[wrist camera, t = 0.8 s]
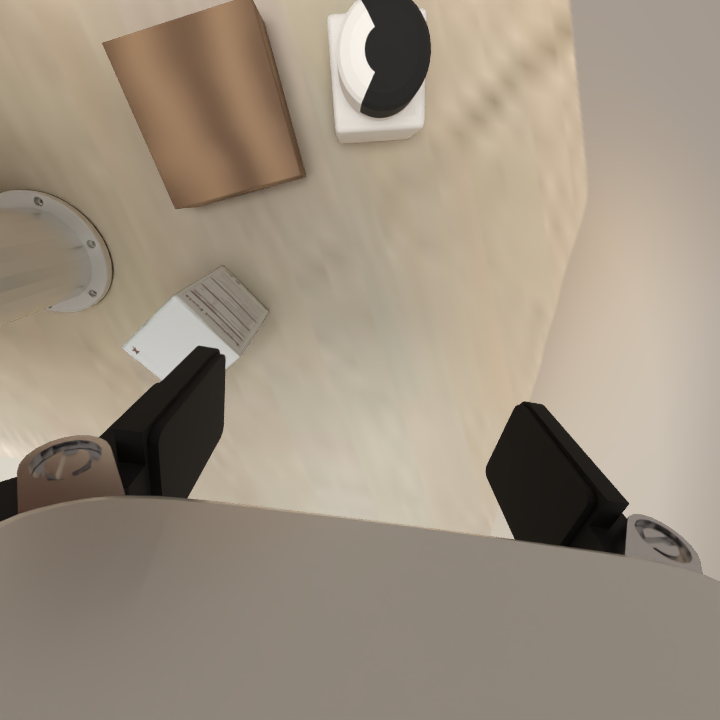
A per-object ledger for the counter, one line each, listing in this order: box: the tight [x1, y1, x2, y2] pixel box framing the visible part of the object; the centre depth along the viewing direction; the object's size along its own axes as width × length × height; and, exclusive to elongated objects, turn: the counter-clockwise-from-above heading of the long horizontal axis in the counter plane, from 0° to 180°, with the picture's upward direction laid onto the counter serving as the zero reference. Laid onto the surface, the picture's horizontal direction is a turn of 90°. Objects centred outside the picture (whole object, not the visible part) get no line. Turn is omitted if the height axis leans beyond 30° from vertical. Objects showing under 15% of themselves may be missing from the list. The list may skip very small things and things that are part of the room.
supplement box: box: [122, 266, 269, 380], centre depth 35 cm, size 7×7×13 cm
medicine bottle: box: [327, 0, 431, 143], centre depth 27 cm, size 7×7×12 cm
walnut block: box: [102, 0, 306, 209], centre depth 31 cm, size 12×12×5 cm
